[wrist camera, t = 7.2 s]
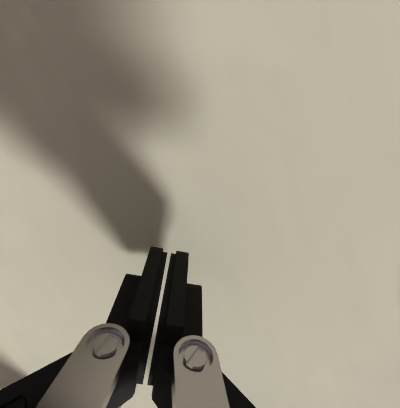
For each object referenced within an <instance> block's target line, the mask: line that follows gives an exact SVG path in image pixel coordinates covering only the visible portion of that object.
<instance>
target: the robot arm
mask: <svg viewBox="0 0 400 408" xmlns="http://www.w3.org/2000/svg"><path fill="white" fill-rule="evenodd" d="M188 256H189V253H186V252H180V251H176V254H172V253H171V257H170V263H169V268H168V273H167V278H166V284H165V289H164V294H163V300H162V305H161V311H160V316H159V322H158V328H157V333H156V339H155V345H154V350H153V356H152V362H151V367H150V373H149V379H148V384H147V385H152V386H153V390H152V400H153V401H154V403H155V404H156V406H157V407H158V408H256V407H255V406H254V405H253V404H252V403H251V402H250V401H249V400H248V399H247V398H246V397H245V396H244V395H243V394H242V393H241V392H240V391H239V389H238V388H237V387H236V386H235V385H234V384H233V383H232V382H231V381H230V380H229V379H228V378H227V377H226V376H225V375H224V374H223V373H222V372H221V367H220V363H219V358H218V354H217V352H216V349H215V347H214V346H213V345H212V344H211V343H210V342H209V341H208V340H207V339H205V338H203V337H202V287H201V286H200V285H194V284H188V283H187V272H188ZM166 257H167V253H166V252H163V249H162V248H157V247H151V248H150V251H149V254H148V257H147V260H146V263H145V267H144V270H143V273H142V276H137V275H131V274H126V275H125V278H124V280H123V282H122V285H121V287H120V290H119V292H118V295H117V297H116V300H115V302H114V305H113V307H112V310H111V312H110V315H109V317H108V320H107V322H106V324H100V325H98V326H95V327H93V328H92V329H90V330H89V331H88V332H87V333H86V334H85V335H84V336H83V338H82V339H81V341H80V342H79V344H78V345H77V347H76V348H75V350H74V351H73V352H72V353H70V354H68V355H66V356H64V357H62V358H60V359H59V360H57V361H55V362H53V363H51V364H49V365H47V366H45V367H43V368H41V369H40V370H38V371H36V372H34V373H32V374H30V375H28V376H26V377H24V378H22V379H21V380H19V381H17V382H15V383H13V384H11V385H9V386H7V387H5V388H3V389H2V390H0V408H121V405H123V404H124V403H125V402H127V401H128V400H129V399H130V398H132V397H133V394H134V393H135V388H136V384H143V379H144V374H145V369H146V363H147V358H148V353H149V348H150V343H151V338H152V333H153V327H154V322H155V317H156V312H157V307H158V302H159V296H160V290H161V285H162V279H163V274H164V268H165V263H166Z"/></svg>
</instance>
